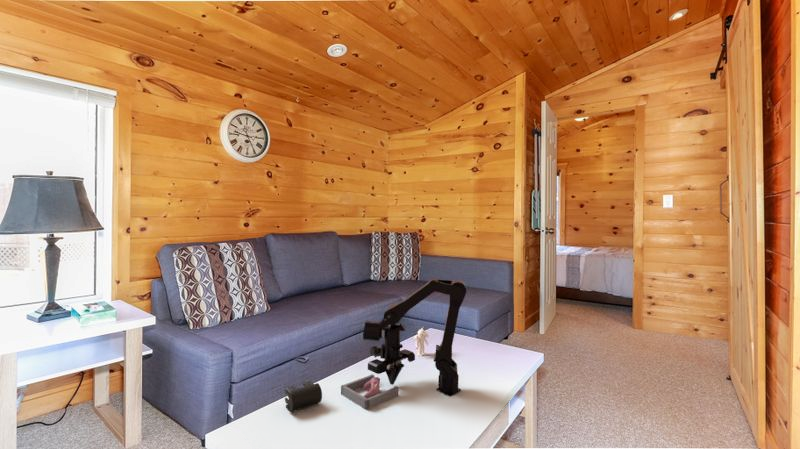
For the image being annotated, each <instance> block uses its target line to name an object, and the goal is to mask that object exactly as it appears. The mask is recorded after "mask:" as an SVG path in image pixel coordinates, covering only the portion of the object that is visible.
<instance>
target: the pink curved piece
mask: <svg viewBox="0 0 800 449" xmlns="http://www.w3.org/2000/svg"><path fill="white" fill-rule="evenodd" d="M380 382H381V378H380V377H378V376H375V375H374V377H373V378H372V379H371V380H370V381H368V382H367V383H366V384H365V385H364V387H363V388H362V389H363V390H364V391H367V392H366V393H365V394H364V395H363V396H364V397H365V398H370V397H372V396H375V395H377V394H379V393H381V389H380V388H381V386H380ZM368 390H369V391H368Z"/></svg>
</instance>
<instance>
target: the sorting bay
mask: <svg viewBox="0 0 800 449" xmlns="http://www.w3.org/2000/svg"><path fill="white" fill-rule="evenodd" d="M374 376H375V374H370V375H367V376H364V377H361V378H358V379H356V380H353V381H350V382H348V383H345V384H342V385H341V386H340V396H341V395H342V396H343V397H344V398H346V399H348V400H349V401H351V402H353V403H354V404H355V405H358V406H360V407H361V408H363V409H364V410H366V411H368V410H370V409H372V408H375V407H377V406H379V405H381V404H383V403H385V402H388V401H391V400H393V399H394V398H397V397H399V389H400V388H399V387H398V386H395V387H392V388H389V389H387V390H385V391H381V392H380V393H379V394H377V395H375V396H372V397H370V398H365V397H364V395H362V394H360V393H358V392H357V390H361V389H364V388H363V387H364V385H365V384H366V383H367V382H368V381H370V380H371V379H372V378H373V377H374Z"/></svg>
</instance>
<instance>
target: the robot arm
mask: <svg viewBox="0 0 800 449" xmlns="http://www.w3.org/2000/svg"><path fill="white" fill-rule="evenodd" d="M434 292H437V293H440V294H444V295H448V296H449V298H448V300H449V302H448V303H449V304H448V309H447V315H446V320H445V324H444V325H445V326H444V330H443V335H442V340H441V343H440V344H439V345H438V344H436V346H435V352H434V354H433V362H434V363H435V364H434V367H435V368H436V370H437V371H438V372H439V375H438V382H437V383H438V385H437V386H438V387H436V389H435V391H437V392H440V393H441V394H443V395H446V396H448V397H452V396H454V395H456V394H457V393H459V392H461V391H462V389H461V388H460V387H459V378H460V377H459V374H458V364H457V362H456V361H455V360H454V359H453V344H454V343H453V342H454V337H455V332H456V329H457V328H456V327H457V322H458V318H459V312H460V309H461V306H462V304H463V302H464V299H465V297H466V294H467V287H466V283H465V282H464V281H463V280H462V279H458V278H456V279H454V280H450V279H437V278H431V279H430V280H429V281H428V282H426V283H425V284H424V285H422V286H421V287H420V288H418V289H416V290H415V291H414V292H412V294H410V295H408V296H407V297H406V298H405V299H402V300H401V301H398V302H396V303H395V302H394V304H391V305H390V306H388V307H387V308H386V309H385V311H384V313H383V318H381V320H380V321H371V320H366V321H365V322H364V326H363V332H362V338H363V341H367V342H380V341H381V339H384V342H383V343H382V344H381V346H377V345H374V346H370V348H369V354H370V356H371V357H374V358H375V359H373V360H370V361H368V363H367V370H368V371H370V372H372V373H375V374H377V375H380V374H382V373H385V374H386V377H387V379H388V381H389V384H390V385H394V384H395V383H396V380H397V378H398V377H399V374H400V372H401V371H402V369H403V368H404V367H405V364H404V363H403V362H402V361H403V360H406V359H407V361H408V362H409V363H411V362H413V361H415V360H416V354H415V352H413V351H411V350H408V349H406V348H405V349H402V348H403V346H404V344H401V331H402V332H404V331H406V325H404V323H403V322H400V321H401V320H402V319H403V317H405V315H406V314H407V313H408V312H409V311H410V310H411V309H412V308H414V307H416V306H417V305H418V304H419V303H421V302H422V301H424V300H425V299H427V298H428V297H429V296H431V295H432V294H433V293H434ZM401 349H402V350H401ZM377 357H378V358H379V357H380V359H384V360H380V359H378V358H377Z"/></svg>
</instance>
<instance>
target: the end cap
mask: <svg viewBox="0 0 800 449" xmlns="http://www.w3.org/2000/svg"><path fill="white" fill-rule="evenodd" d="M302 386H303V387H296V386H295V385H292V386H288V387H286V388H285V391H284V394H285V395H286V397H285V398H284V402H285V408H286V409H287V411H289V413H294V412H296V411H300V410H303V409H306V408H308V407H312V406H315V405H317V404H319V403H321V401H322V400H323V399H322V398H323V391H322V388H321V385H320V384H319V383H318V382H317V383H313V382H312V381H306V382H303V383H302ZM287 397H288V398H287Z"/></svg>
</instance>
